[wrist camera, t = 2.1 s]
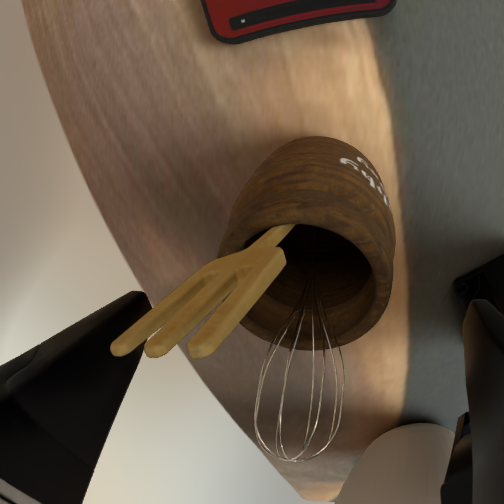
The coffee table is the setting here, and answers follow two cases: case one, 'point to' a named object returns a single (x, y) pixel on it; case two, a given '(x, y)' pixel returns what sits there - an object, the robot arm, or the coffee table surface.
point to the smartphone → (282, 15)
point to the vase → (401, 467)
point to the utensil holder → (288, 265)
